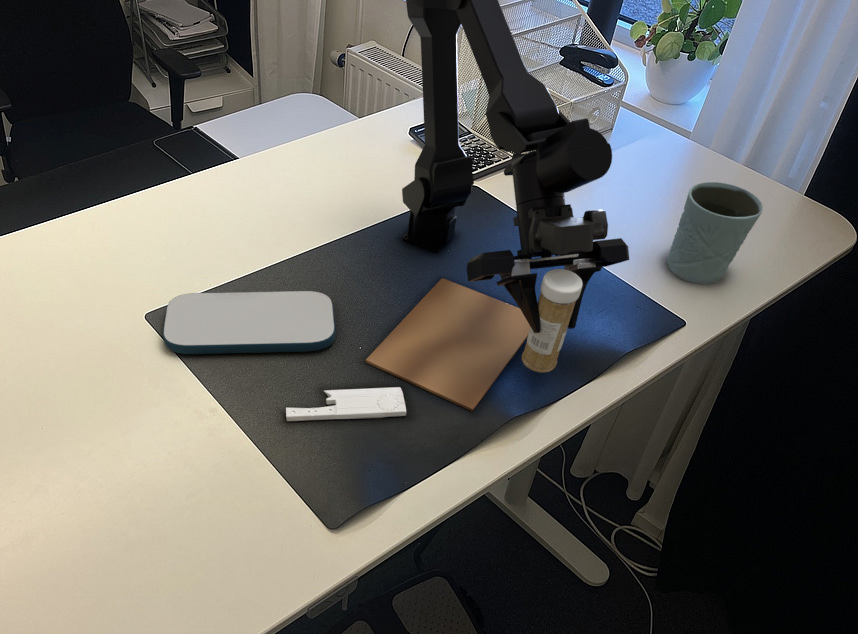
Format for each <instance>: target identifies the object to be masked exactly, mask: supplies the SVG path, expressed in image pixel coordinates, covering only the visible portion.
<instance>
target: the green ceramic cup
mask: <svg viewBox="0 0 858 634" xmlns="http://www.w3.org/2000/svg"><path fill="white" fill-rule="evenodd" d="M683 210H684V211H683V212H682V213H681V216H680V218H679V222H678V227H677V228H676V231H675V234H674V238H673V240H672V243H671V246H670V250H669V252H668V255H667V258H666V265H667V268H668V270H669V271H670V272H671V273H672V274H673V275H675V276H676V277H678V278H680V279H681V280H684V281H686V282H689V283H692V284H693V283H694V284H699V285H709V284H710V285H711V284H714V283H717V282H719V281H720V280H721V279H723V277H724V276H725V274H726V272H727V271H728V269H729V266H730V264H731V263H732V262H733V260H734V258H735V257H736V255H737V253H738V252H739V251H740V248H741V246H742V245H743V244H744V242H745V240H746V239H747V236H748V234H749V233H750V232H751V230H752V229H753V227H754V226H755V224H756V223H757V221H758V219H759V218H760V216H761V215H762V213H763V211H764V205H763V203H762V201H761V199H760V198H758V196H756V195H755V194H754V193H753V192H751V191H749V190H747V189H745V188H743V187H741V186H738V185H735V184H730V183H726V182H718V181H707V182H700V183H697V184H695V185H693V186H692V187H691V188H689V190H688V193H687V195H686V200H685V204H684V207H683Z"/></svg>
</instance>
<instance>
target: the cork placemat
mask: <svg viewBox="0 0 858 634" xmlns="http://www.w3.org/2000/svg"><path fill="white" fill-rule="evenodd" d="M529 330H530V325H529V323H528V322H527V320H526V318H525V316H524V315H523V313H522V311H521V309H520V308H519V307H518V306H515V305H512V304H510V303H507V302H504V301H502V300H499V299H497V298H494V297H492V296H489V295H487V294H484V293H482V292H479V291H477V290H474V289H472V288H469V287H466V286H465V285H464V286H463V285H461V284H460V283H459V284H458V283H456V282H453V281H451V280H448V279H447V278H443V277H441V278H440V279H439V281H437V283H436V284H435V285H433V287H432V288H430V290H429V291H428V292H427V294H425V295H424V296H423V298H422V299H421V300H420V301H419V302H418V303H417V304H416V305H415V306H414V307H413V308H412V309H411V311H409V313H408V314H407V315H406V316H405V317H404V318H403V319H402V320H401V321H400V323H398V324H397V326H396V327H395V328H393V330H392V331H391V332H390V333H389V334H388V335H387V336H386V337H385V338H384V339H383V340H382V342H381V343H380V344H379V345H378V346H377V347H376V348H375V349H374V350H373V351H372V353H371V354H370V355H368V357H367V358H366V359H365V363H366V364H368V365H370V366H372V367H375V368H376V369H379V370H381V371H383V372H385V373H388V374H390V375H391V376H394V377H397V378H398V379H401V380H403V381H404V382H407V383H409V384H412V385H413V386H416V387H418V388H419V389H423V390H424V391H427V392H429V393H431V394H433V395H435V396H438V397H440V398H442V399H444V400H446V401H449V402H450V403H452V404H455V405H457V406H460V407H462V408H463V409H466V410H468V411H470V412H474V411H475V409H476V408H477V407H478V405H479V404H480V402H481V401H482V400H483V398H484V397H485V396H486V394H487V393H488V391H489V390H490V389H491V387H492V386H493V385H494V384H495V382H496V381H497V379H498V378H499V377H500V375H501V374H502V373H503V371H505V368H506V367H507V366H508V364H509V363H510V362H511V360H512V359H513V358H514V356H515V355H516V353H517V352H518V350H520V348H521V347H522V345H523V344H524V343H525V342H526V341H527V337H528V334H529Z"/></svg>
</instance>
